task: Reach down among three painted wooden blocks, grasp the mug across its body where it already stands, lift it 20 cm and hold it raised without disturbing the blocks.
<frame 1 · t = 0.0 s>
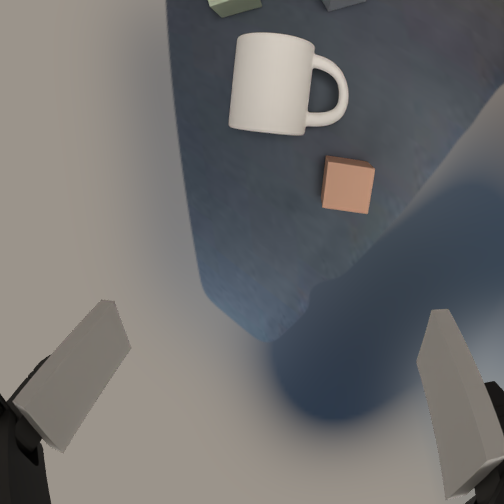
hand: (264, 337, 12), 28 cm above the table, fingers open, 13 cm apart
mug: (292, 89, 33), on the table
terracotta block: (343, 178, 36), on the table
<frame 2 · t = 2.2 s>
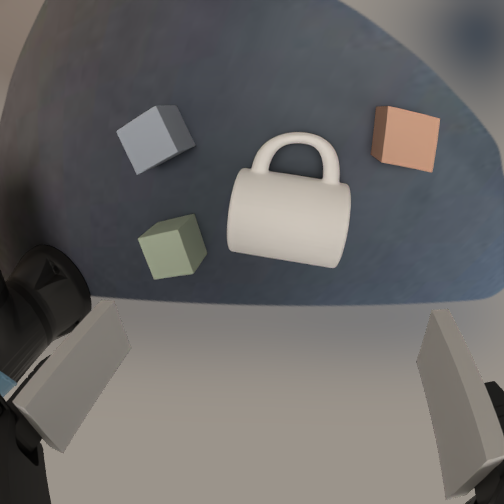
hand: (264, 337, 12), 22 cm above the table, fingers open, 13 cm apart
mug: (294, 186, 32), on the table
slate block: (167, 135, 32), on the table
sage block: (182, 237, 37), on the table
terracotta block: (396, 135, 28), on the table
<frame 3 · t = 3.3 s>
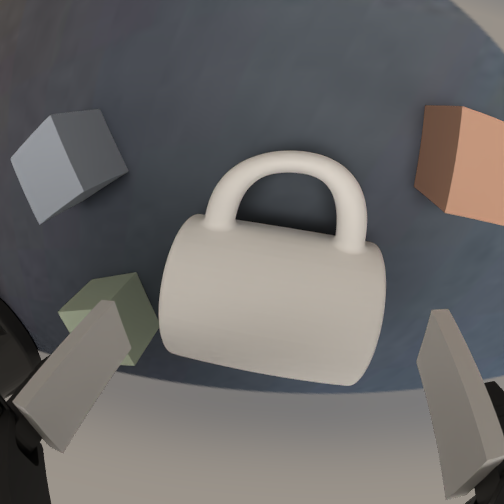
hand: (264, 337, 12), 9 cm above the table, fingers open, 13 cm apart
mug: (285, 237, 20), on the table
slate block: (90, 156, 19), on the table
sage block: (125, 301, 24), on the table
terracotta block: (455, 154, 15), on the table
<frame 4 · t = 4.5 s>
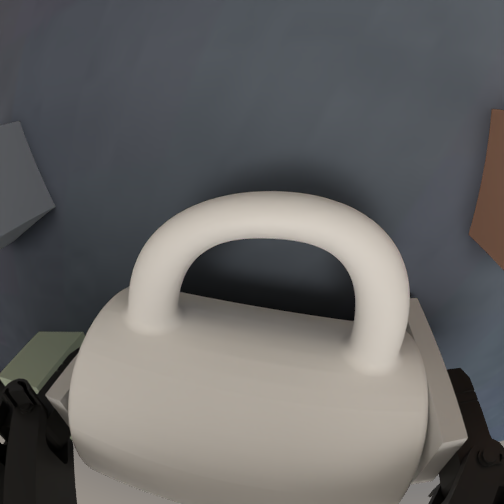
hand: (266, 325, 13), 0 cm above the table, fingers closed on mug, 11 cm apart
mug: (271, 306, 13), on the table, touching gripper
slate block: (14, 184, 13), on the table
sage block: (77, 360, 18), on the table
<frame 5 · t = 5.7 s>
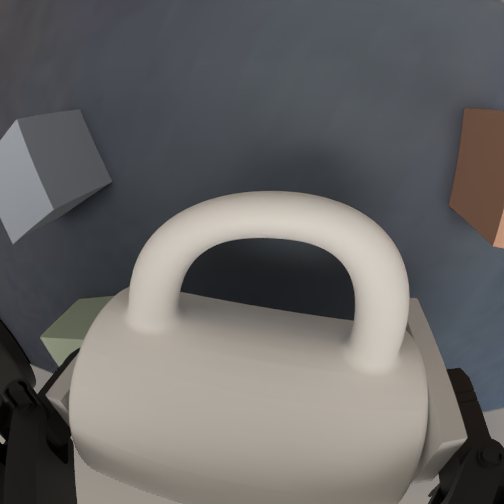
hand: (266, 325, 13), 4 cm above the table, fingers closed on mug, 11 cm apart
mug: (271, 306, 13), point 4 cm above the table, touching gripper
slate block: (70, 163, 17), on the table
sage block: (114, 324, 22), on the table
terracotta block: (495, 168, 12), on the table
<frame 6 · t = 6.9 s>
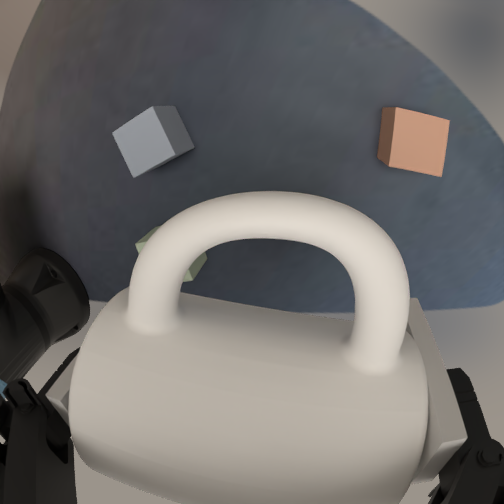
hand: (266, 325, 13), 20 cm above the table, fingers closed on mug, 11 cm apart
mug: (271, 306, 13), point 20 cm above the table, touching gripper
slate block: (165, 137, 31), on the table
sage block: (181, 242, 35), on the table
terracotta block: (403, 137, 26), on the table
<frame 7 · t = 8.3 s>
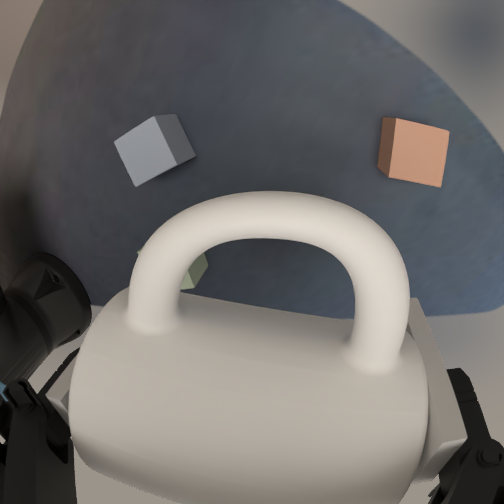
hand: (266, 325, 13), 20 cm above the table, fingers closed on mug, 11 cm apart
mug: (271, 306, 13), point 20 cm above the table, touching gripper
slate block: (166, 145, 31), on the table
sage block: (182, 249, 36), on the table
terracotta block: (403, 146, 27), on the table
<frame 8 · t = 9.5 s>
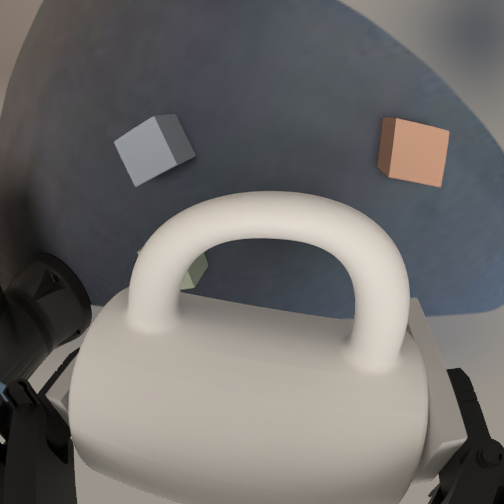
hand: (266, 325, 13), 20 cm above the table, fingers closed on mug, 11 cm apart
mug: (271, 306, 13), point 20 cm above the table, touching gripper
slate block: (166, 145, 31), on the table
sage block: (182, 249, 36), on the table
terracotta block: (403, 146, 27), on the table
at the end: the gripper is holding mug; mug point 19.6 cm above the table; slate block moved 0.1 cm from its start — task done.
